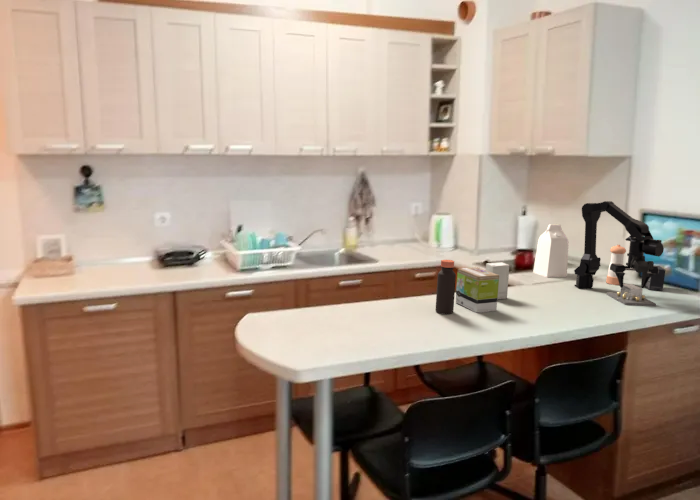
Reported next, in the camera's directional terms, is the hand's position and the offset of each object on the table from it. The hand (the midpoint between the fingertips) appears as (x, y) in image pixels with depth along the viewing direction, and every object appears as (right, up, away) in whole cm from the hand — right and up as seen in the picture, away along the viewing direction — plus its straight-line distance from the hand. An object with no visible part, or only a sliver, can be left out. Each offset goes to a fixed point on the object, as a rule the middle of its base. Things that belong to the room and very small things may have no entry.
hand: (631, 287), depth 257 cm
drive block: (0, -4, +1) cm, 4 cm away
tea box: (-72, -7, -20) cm, 75 cm away
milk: (-19, +4, +49) cm, 53 cm away
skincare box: (-60, -4, -4) cm, 60 cm away
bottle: (-86, -8, -29) cm, 91 cm away
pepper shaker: (+7, 0, +34) cm, 34 cm away
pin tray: (0, -5, +1) cm, 5 cm away
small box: (+22, -2, +26) cm, 34 cm away
